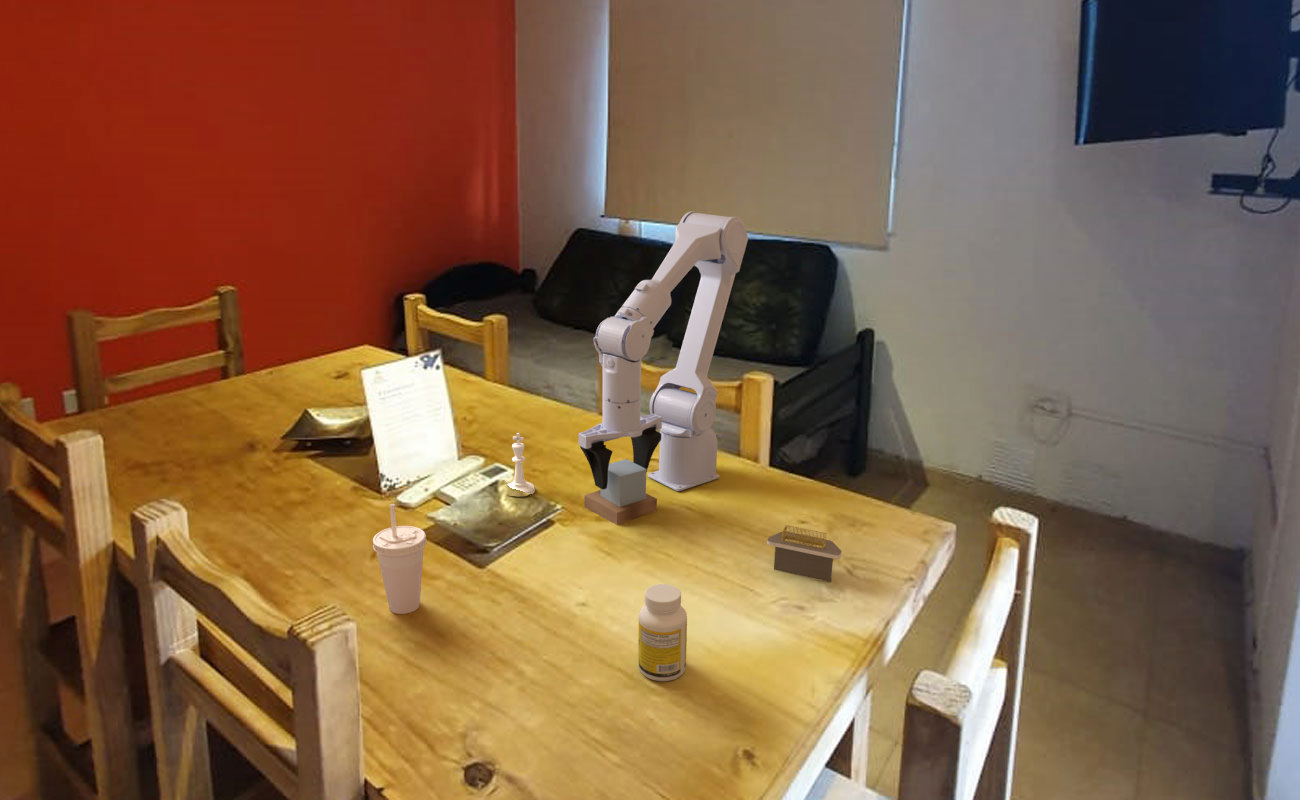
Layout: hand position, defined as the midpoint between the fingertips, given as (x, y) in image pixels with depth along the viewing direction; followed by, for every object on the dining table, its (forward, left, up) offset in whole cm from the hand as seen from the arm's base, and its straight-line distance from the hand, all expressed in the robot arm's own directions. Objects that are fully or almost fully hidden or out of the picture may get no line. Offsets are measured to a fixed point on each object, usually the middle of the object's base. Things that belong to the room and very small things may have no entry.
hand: (620, 480), depth 144 cm
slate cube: (0, 0, -3) cm, 3 cm away
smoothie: (+39, +6, -5) cm, 40 cm away
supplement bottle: (+22, +36, -5) cm, 42 cm away
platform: (-8, +31, -5) cm, 32 cm away
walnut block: (0, 0, -5) cm, 5 cm away
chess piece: (+9, -15, -5) cm, 18 cm away
